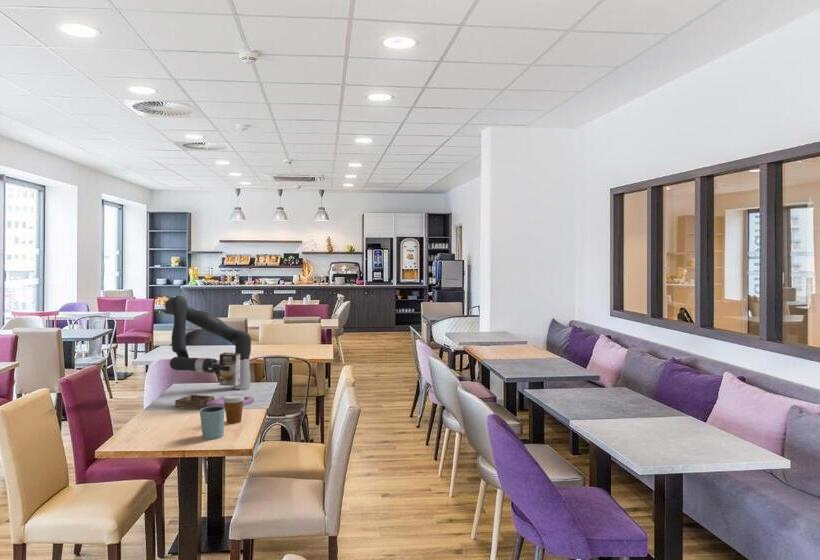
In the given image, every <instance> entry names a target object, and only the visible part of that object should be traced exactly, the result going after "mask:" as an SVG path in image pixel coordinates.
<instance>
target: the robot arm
mask: <svg viewBox="0 0 820 560" xmlns="http://www.w3.org/2000/svg"><path fill="white" fill-rule="evenodd" d="M164 308H165V310H166V312H167V313H169V314H171V315H172V316H173V318H174V320H173V327H172V332H171V350H172V352H173V353H175V354H176V356H174V357H172V358H171V359H170V360H169V367H170V368H171V369H172V370H174V371H191V372H199V373H206V374H214V373H216V372H220V371H229V366H220V361H218V360H217V359H215V358H212V357H211V358H209V357H189V353H188V350H187V341H186V339H187V338H186V323H187V321H188V322H190V324H193V325H195V326H196V327H199V328H200V329H202V330H204V331H206V332H208V333H210V334H213V335H216V336H218V337H221V338H222V339H224V340H226V341H228V342H229V343H230V344H232V345H233V346H235V347H234V348H235V350H234V353H240V384H238V385H236V386H232V388H234V390H237V389H240V390H241V391H242V390H247V389H250V388H251V370H250V368H251V367H250V366H251V364H250V356H251V352H252V338H251V335H250V333H248V332H246V331H242V330H240V329H239V330H238V329H236V328H233V327H231V326H229V325H228V324H226V323H225V322H224V321H223V320H222V319H220V318H218V317H217V316H215V315H213V314H211V313H209V312H206V311H202V310H199V309H195V308H193V307H190V306H188V301H187V299H186V298H185V297H184V296H183V295H176V296H172V297H171V298H169V299H167V300H166V301H165V304H164ZM240 390H239V391H240Z"/></svg>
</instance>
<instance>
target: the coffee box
mask: <svg viewBox="0 0 820 560" xmlns="http://www.w3.org/2000/svg"><path fill="white" fill-rule="evenodd" d="M219 362H220V366H229V371H219V378H218V379H219V386H230V387H233V386H236V385H238V384H240V353H235V352H222V353H220V354H219Z"/></svg>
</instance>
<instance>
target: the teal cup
mask: <svg viewBox="0 0 820 560" xmlns="http://www.w3.org/2000/svg"><path fill="white" fill-rule="evenodd" d="M225 413H226V412H225V408H224V407H222V406H209V407H203V408H201V409H199V416H200V424H201V433H202V434H201V435H202V439H204V440H217V439H221V438H223V437H224V435H225V434H224V431H225V421H224V420H225Z"/></svg>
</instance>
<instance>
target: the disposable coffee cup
mask: <svg viewBox="0 0 820 560" xmlns="http://www.w3.org/2000/svg"><path fill="white" fill-rule="evenodd" d="M226 395H227V396H225V395H223V396H224V399H223V401H224V405H225V412H224V413H225V417H226V423H227V424H230V425H233V424H235V423H236V424H239V423H241V422H242V418H243V417H242V415H243V401H244V397H245V396H244V395H243V394H239V393H237V394H236V393H235V394H234V393H233V394H226ZM243 396H244V397H243Z"/></svg>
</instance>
